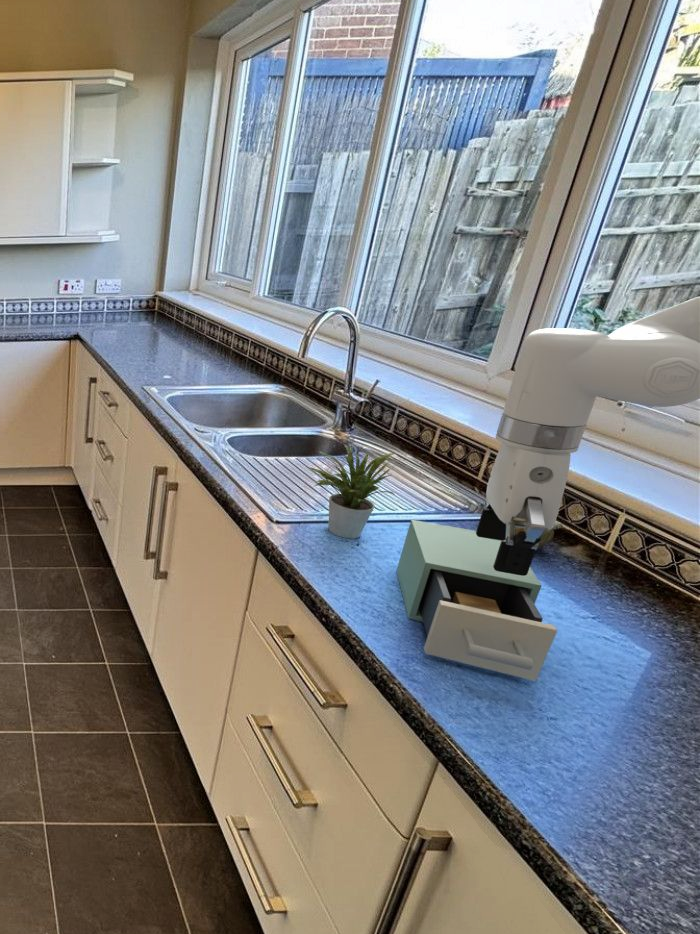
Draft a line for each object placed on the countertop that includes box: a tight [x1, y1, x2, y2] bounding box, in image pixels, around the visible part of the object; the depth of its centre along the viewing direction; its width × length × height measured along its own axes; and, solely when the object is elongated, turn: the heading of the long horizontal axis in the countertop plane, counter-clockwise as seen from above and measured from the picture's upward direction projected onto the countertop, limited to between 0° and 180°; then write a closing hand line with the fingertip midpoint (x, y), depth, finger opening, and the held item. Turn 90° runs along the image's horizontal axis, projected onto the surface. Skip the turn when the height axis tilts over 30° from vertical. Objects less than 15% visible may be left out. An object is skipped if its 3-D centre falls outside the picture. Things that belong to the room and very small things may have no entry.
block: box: [452, 592, 501, 613], centre depth 84 cm, size 4×4×4 cm
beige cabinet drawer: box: [419, 569, 558, 682], centre depth 82 cm, size 18×11×8 cm, turn 152°
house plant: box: [308, 444, 396, 540], centre depth 113 cm, size 14×14×16 cm
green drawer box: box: [396, 519, 543, 623], centre depth 92 cm, size 15×13×10 cm
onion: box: [514, 518, 563, 550], centre depth 108 cm, size 8×8×8 cm
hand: (499, 554), depth 81 cm, fingers open, 9 cm apart
